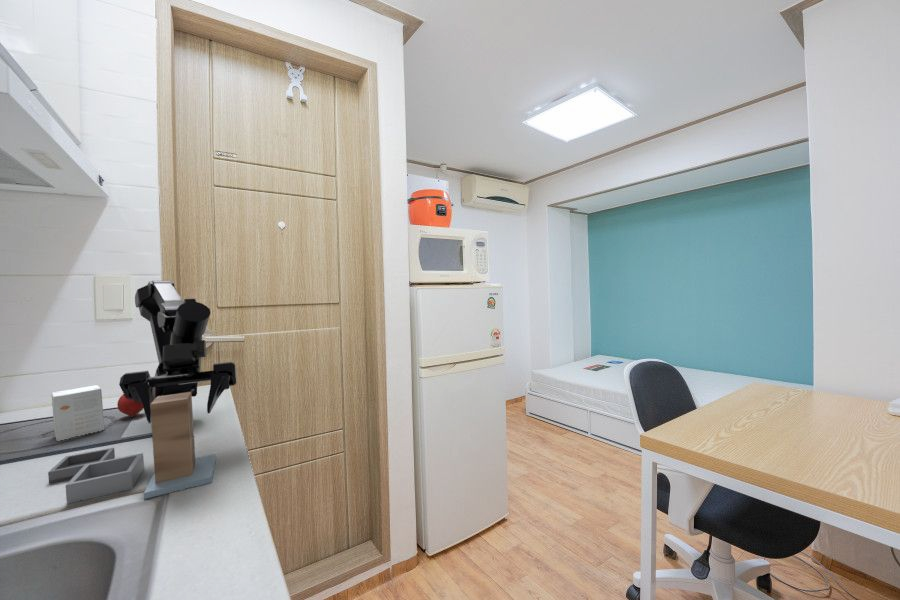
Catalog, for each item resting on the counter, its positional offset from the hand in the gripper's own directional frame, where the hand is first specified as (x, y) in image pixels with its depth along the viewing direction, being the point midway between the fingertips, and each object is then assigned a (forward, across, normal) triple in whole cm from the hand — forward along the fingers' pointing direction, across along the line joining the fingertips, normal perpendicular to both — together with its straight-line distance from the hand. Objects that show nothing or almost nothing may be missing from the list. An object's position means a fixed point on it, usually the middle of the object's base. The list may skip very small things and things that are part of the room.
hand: (179, 417), depth 69 cm
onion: (-22, -16, +35) cm, 44 cm away
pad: (+11, +1, +1) cm, 11 cm away
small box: (-16, -24, +29) cm, 41 cm away
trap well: (+1, -16, +11) cm, 20 cm away
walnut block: (+10, 0, +1) cm, 11 cm away
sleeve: (+8, -10, +4) cm, 14 cm away
